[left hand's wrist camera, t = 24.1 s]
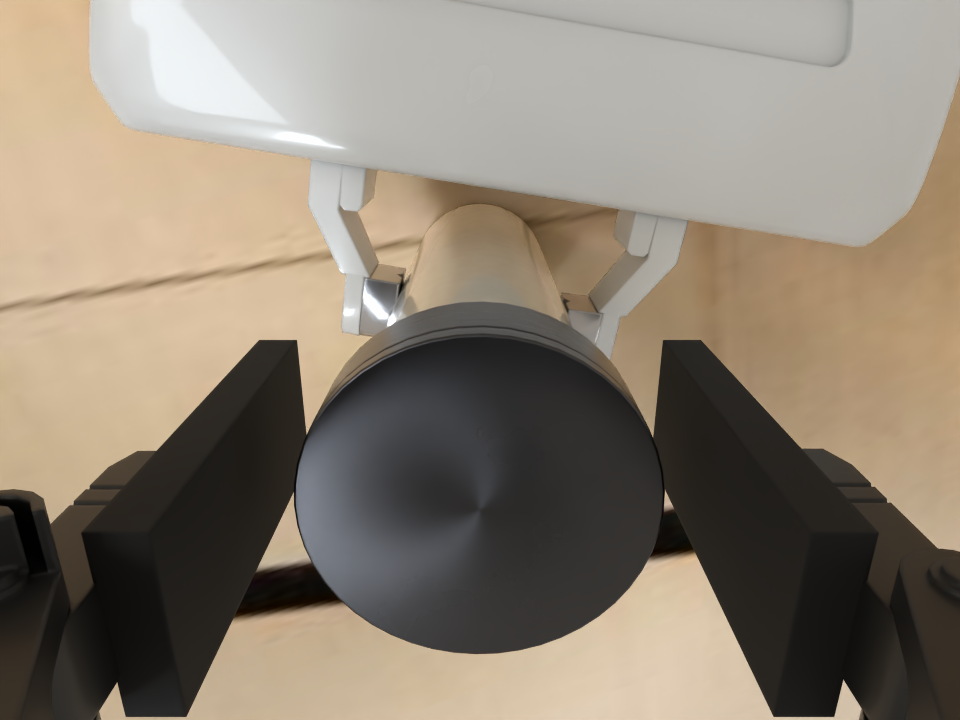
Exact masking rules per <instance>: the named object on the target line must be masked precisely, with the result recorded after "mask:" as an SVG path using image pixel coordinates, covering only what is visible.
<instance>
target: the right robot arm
mask: <svg viewBox="0 0 960 720" xmlns="http://www.w3.org/2000/svg"><path fill="white" fill-rule="evenodd" d="M89 67H90V73H91V78H92V81H93V83H94V85H95V87H96V88H97V90H98V91H99V93H100V94H101V96H102V97H103V99H104V100H105V102H106V103H107V104H108V106H109V107H110V109H111V110H112V112H113V113H114V115H115V116H116V117H117V118H118V120H119V121H120V122H121V124H122V125H124V126H125V127H126V128H128V129H130V130H134V131H139V132H144V133H150V134H157V135H163V136H169V137H175V138H181V139H187V140H194V141H200V142H206V143H212V144H218V145H225V146H231V147H237V148H243V149H249V150H256V151H262V152H268V153H274V154H280V155H287V156H293V157H299V158H305V159H311V168H310V182H309V197H308V206H309V208H310V210H311V212H312V214H313V216H314V218H315V220H316V223H317V225H318V227H319V229H320V231H321V233H322V235H323V237H324V239H325V241H326V243H327V245H328V247H329V249H330V251H331V253H332V256H333V258H334V260H335V262H336V264H337V266H338V268H339V270H340V272H341V273H342V274H346V278H345V289H344V301H343V312H342V323H341V327H342V333H347V334H352V335H358V336H359V335H363V336H370V337H374V336H375V335H376V334H377V333H379V332H380V331H382V330H384V329H385V328H386V326H387V323H388V321H389V319H390V316H391V314H392V311H393V309H394V307H395V304H396V302H397V299H398V297H399V295H400V292H401V290H402V287H403V285H404V282H405V273H406V269H405V268H400V267H394V266H388V265H383V264H378V263H379V261H378V259H377V257H376V254H375V252H374V250H373V247H372V245H371V242H370V240H369V238H368V235H367V233H366V230H365V228H364V226H363V223H362V221H361V218H360V216H359V214H358V211H359V210H360V209H361V208H363V207H364V206H365V205H366V204H367V203H368V202H370V201H371V200H372V199H373V198H374V191H375V182H376V173H377V170H379V171H386V172H392V173H398V174H404V175H410V176H416V177H423V178H429V179H435V180H441V181H447V182H454V183H460V184H466V185H472V186H478V187H485V188H491V189H497V190H503V191H509V192H515V193H522V194H528V195H534V196H540V197H546V198H553V199H559V200H565V201H571V202H577V203H584V204H590V205H596V206H602V207H608V208H614V209H619V210H618V214H617V219H616V224H615V229H614V233H613V237H614V238H615V240H616V241H617V242H618V243H619V244H620V245H621V246H622V247H623V248H624V249H625V250H626V251H625V252H624V253H623V255H622V256H621V257H620V258H619V259H618V260H617V262H616V263H615V264H614V265H613V266H612V267H611V269H610V270H609V271H608V272H607V273H606V274H605V276H604V277H603V278H602V279H601V280H600V281H599V283H598V284H597V285H596V286H595V287H594V289H593V290H592V291H591V292H590V293H589V296H584V295H576V294H569V293H561V299H562V301H563V304H564V306H565V309H566V311H567V313H568V316H569V318H570V321H571V323H572V325H573V328H574V329H575V330H576V331H578V332H579V333H581V334H582V335H584V336H585V337H587V338H588V339H589V340H590V341H591V342H592V343H593V344H594V345H596V346H597V347H598V348H599V349H600V350H601V351H602V352H603V353H604V354H605V355H606V357H607V358H608V359H609V360H610V359H611V355H612V351H613V347H614V343H615V338H616V334H617V330H618V326H619V322H620V318H621V316H622V317H626V316H627V315H628V314H629V313H630V312H631V311H632V309H633V308H634V307H635V306H636V305H637V304H638V303H639V302H640V301H641V300H642V299H643V298H644V297H645V296H646V295H647V294H648V293H649V292H650V291H651V290H652V289H653V288H654V287H655V286H656V285H657V284H658V283H659V282H660V281H661V280H662V278H663V277H664V276H665V275H666V274H667V273H668V272H669V271H670V270H671V269H672V268H673V267H674V266H675V265H676V264H677V261H678V257H679V254H680V250H681V246H682V242H683V239H684V235H685V231H686V228H687V224H688V220H689V221H695V222H701V223H707V224H713V225H720V226H726V227H732V228H738V229H744V230H751V231H757V232H763V233H769V234H775V235H782V236H788V237H794V238H800V239H806V240H812V241H819V242H825V243H831V244H838V245H844V246H850V247H864V246H866V245H868V244H870V243H871V242H873V241H874V240H875V239H877V238H878V237H880V236H881V235H882V234H883V233H885V232H886V231H887V230H889V229H890V228H891V227H892V226H893V225H895V224H896V223H897V222H898V221H899V220H901V219H902V218H903V217H904V216H905V215H906V214H907V213H908V212H909V211H910V209H911V208H912V206H913V204H914V202H915V201H916V199H917V197H918V195H919V193H920V190H921V188H922V185H923V183H924V181H925V178H926V176H927V174H928V171H929V168H930V165H931V163H932V160H933V157H934V154H935V151H936V149H937V146H938V143H939V140H940V137H941V134H942V131H943V128H944V125H945V122H946V119H947V116H948V113H949V110H950V107H951V104H952V100H953V97H954V94H955V91H956V87H957V84H958V81H959V77H960V0H90V11H89Z"/></svg>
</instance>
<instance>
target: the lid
mask: <svg viewBox="0 0 960 720" xmlns="http://www.w3.org/2000/svg"><path fill="white" fill-rule="evenodd" d="M664 496H665V488H664V477H663V469H662V465H661V461H660V457H659V453H658V449H657V446H656V444H655V442H654V439H653V437H652V435H651V432H650V430H649V428H648V426H647V424H646V422H645V420H644V418H643V416H642V414H641V412H640V410H639V408H638V406H637V404H636V402H635V401H634V399H633V397H632V395H631V393H630V391H629V389H628V387H627V385H626V383H625V382H624V380H623V379H622V377H621V375H620V374H619V372H618V370H617V369H616V367H615V366H614V365H613V364H612V363H611V361H610V360H609V359H608V358H607V357H606V355H605V354H604V353H603V352H602V351H601V350H600V349H599V348H598V347H597V346H596V345H594V344H593V343H592V342H591V341H590V340H589V339H588V338H587V337H585V336H584V335H582V334H581V333H579V332H578V331H576V330H575V329H574V328H572V327H571V326H569V325H567V324H565V323H563V322H561V321H559V320H557V319H555V318H553V317H551V316H549V315H546V314H544V313H541V312H538V311H535V310H532V309H529V308H525V307H521V306H516V305H511V304H507V303H496V302H484V301H481V302H459V303H453V304H448V305H442V306H437V307H433V308H430V309H427V310H424V311H420V312H417V313H414V314H412V315H410V316H408V317H406V318H403V319H401V320H399V321H397V322H395V323H393V324H392V325H390V326H388V327H387V328H385V329H384V330H382V331H380V332H379V333H377V334H376V335H375V336H374V337H372V338H371V339H370V340H369V341H368V342H366V343H365V344H364V345H363V346H362V347H360V348H359V350H358V351H357V352H356V353H355V354H354V355H353V356H352V357H351V358H350V359H349V361H348V362H347V363H346V364H345V366H344V367H343V369H342V370H341V372H340V373H339V375H338V376H337V378H336V379H335V381H334V383H333V385H332V386H331V388H330V390H329V392H328V394H327V396H326V398H325V400H324V402H323V404H322V406H321V408H320V409H319V411H318V413H317V415H316V417H315V419H314V421H313V423H312V425H311V427H310V429H309V431H308V433H307V435H306V438H305V440H304V442H303V445H302V448H301V451H300V455H299V458H298V461H297V466H296V473H295V480H294V507H295V513H296V519H297V526H298V529H299V532H300V535H301V538H302V541H303V544H304V547H305V549H306V551H307V553H308V555H309V558H310V560H311V562H312V564H313V566H314V567H315V569H316V570H317V572H318V573H319V575H320V576H321V578H322V579H323V581H324V582H325V583H326V584H327V586H328V587H329V588H330V589H331V590H332V591H333V592H334V594H335V595H336V596H337V597H338V598H339V599H340V600H341V601H342V602H343V603H344V604H346V605H347V606H348V607H349V608H350V609H351V610H352V611H353V612H355V613H356V614H358V615H359V616H360V617H362V618H363V619H365V620H366V621H368V622H369V623H370V624H372V625H374V626H376V627H377V628H379V629H381V630H383V631H385V632H387V633H389V634H390V635H393V636H395V637H398V638H400V639H403V640H405V641H408V642H410V643H413V644H417V645H420V646H424V647H427V648H431V649H436V650H442V651H448V652H453V653H468V654H492V653H503V652H511V651H518V650H523V649H527V648H531V647H535V646H539V645H542V644H545V643H548V642H550V641H553V640H556V639H559V638H561V637H563V636H566V635H568V634H570V633H572V632H574V631H576V630H578V629H580V628H582V627H583V626H585V625H586V624H588V623H589V622H591V621H592V620H594V619H596V618H597V617H599V616H600V615H601V614H602V613H604V612H605V611H606V610H607V609H608V608H610V607H611V606H612V605H613V604H614V603H616V601H617V600H618V599H619V598H620V597H621V596H622V595H623V594H624V593H625V592H626V591H627V590H628V589H629V588H630V586H631V585H632V584H633V582H634V581H635V580H636V578H637V577H638V575H639V574H640V573H641V571H642V570H643V568H644V566H645V564H646V562H647V560H648V559H649V557H650V555H651V553H652V551H653V548H654V545H655V542H656V540H657V537H658V534H659V531H660V526H661V522H662V517H663V512H664Z"/></svg>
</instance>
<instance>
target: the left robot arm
mask: <svg viewBox="0 0 960 720" xmlns="http://www.w3.org/2000/svg"><path fill="white" fill-rule="evenodd" d="M305 438H306V426H305V416H304V406H303V396H302V386H301V376H300V366H299V356H298V346H297V340H259V341H258V342H257V343H256V344H255V345H254V346H253V347H252V349H251V350H250V351H249V352H248V353H247V354H246V355H245V356H244V357H243V358H242V359H241V360H240V361H239V363H238V364H237V365H236V366H235V367H234V368H233V369H232V370H231V371H230V372H229V373H228V374H227V376H226V377H225V378H224V379H223V380H222V381H221V382H220V383H219V384H218V385H217V386H216V387H215V388H214V390H213V391H212V392H211V393H210V394H209V395H208V396H207V397H206V398H205V399H204V400H203V401H202V402H201V404H200V405H199V406H198V407H197V408H196V409H195V410H194V411H193V412H192V413H191V414H190V415H189V417H188V418H187V419H186V420H185V421H184V422H183V423H182V424H181V425H180V426H179V427H178V428H177V429H176V431H175V432H174V433H173V434H172V435H171V436H170V437H169V438H168V439H167V440H166V441H165V442H164V444H163V445H162V446H161V447H160V448H159V449H158V450H157V451H137V452H135V453H133V454H132V455H130V456H128V457H126V458H124V459H122V460H121V461H119V462H117V463H115V464H113V465H112V466H110V467H108V468H107V469H106V470H105V471H104V472H103V473H102V474H101V475H100V476H99V477H98V478H97V479H96V480H95V481H94V482H93V483H92V484H91V485H90V489H86V490H85V491H84V492H83V493H82V494H81V495H80V496H79V497H78V498H77V499H76V500H75V501H74V505H70V506H69V507H68V508H67V509H66V510H65V511H64V512H63V513H61V514H60V515H59V516H58V517H57V518H56V519H55V520H54V521H53V522H52V523H51V524H50V522H49V518H48V514H47V510H46V507H45V503H44V499H43V498H42V497H40V496H38V495H37V494H35V493H34V492H31V491H23V490H15V489H12V490H0V720H101V717H100V713H99V710H100V709H101V707H102V705H103V704H104V702H105V701H106V699H107V697H108V696H109V694H110V693H111V691H112V689H113V688H114V686H115V685H116V683H118V687H119V691H120V695H121V699H122V703H123V707H124V711H125V715H126V717H186V716H187V714H188V712H189V710H190V708H191V706H192V704H193V702H194V700H195V698H196V695H197V693H198V691H199V689H200V687H201V685H202V683H203V681H204V679H205V677H206V674H207V672H208V670H209V668H210V666H211V664H212V662H213V660H214V658H215V656H216V654H217V651H218V649H219V647H220V645H221V643H222V641H223V639H224V637H225V635H226V633H227V630H228V628H229V626H230V624H231V622H232V620H233V618H234V616H235V614H236V612H237V610H238V607H239V605H240V603H241V601H242V599H243V597H244V595H245V593H246V591H247V589H248V587H249V584H250V582H251V580H252V578H253V576H254V574H255V572H256V570H257V568H258V566H259V563H260V561H261V559H262V557H263V555H264V553H265V551H266V549H267V547H268V545H269V543H270V540H271V538H272V536H273V534H274V532H275V530H276V528H277V526H278V524H279V522H280V520H281V517H282V515H283V513H284V511H285V509H286V507H287V505H288V503H289V501H290V499H291V496H292V494H293V492H294V480H295V473H296V466H297V461H298V458H299V455H300V451H301V448H302V445H303V442H304V440H305ZM653 439H654V442H655V444H656V446H657V449H658V453H659V457H660V461H661V465H662V469H663V477H664V488H665V490H666V492H667V494H668V496H669V499H670V501H671V503H672V505H673V507H674V509H675V511H676V513H677V515H678V517H679V519H680V522H681V524H682V526H683V528H684V530H685V532H686V534H687V536H688V538H689V540H690V543H691V545H692V547H693V549H694V551H695V553H696V555H697V557H698V559H699V561H700V563H701V566H702V568H703V570H704V572H705V574H706V576H707V578H708V580H709V582H710V584H711V586H712V589H713V591H714V593H715V595H716V597H717V599H718V601H719V603H720V605H721V607H722V610H723V612H724V614H725V616H726V618H727V620H728V622H729V624H730V626H731V628H732V630H733V633H734V635H735V637H736V639H737V641H738V643H739V645H740V647H741V649H742V651H743V654H744V656H745V658H746V660H747V662H748V664H749V666H750V668H751V670H752V672H753V674H754V677H755V679H756V681H757V683H758V685H759V687H760V689H761V691H762V693H763V695H764V697H765V700H766V702H767V704H768V706H769V708H770V710H771V712H772V714H773V716H774V717H834V716H835V711H836V707H837V703H838V699H839V695H840V691H841V687H842V683H843V679H844V681H845V683H846V684H847V686H848V687H849V689H850V691H851V692H852V694H853V695H854V697H855V699H856V700H857V702H858V703H859V705H860V706H861V708H862V710H861V713H860V717H859V720H960V552H958V551H954V550H947V549H938V548H937V547H936V546H935V545H934V544H933V543H932V542H931V541H929V540H928V539H927V538H926V537H925V536H924V535H923V534H922V533H921V532H920V531H919V530H918V529H917V528H916V527H915V526H914V525H913V524H912V523H911V522H910V521H909V520H908V519H907V518H906V517H905V516H904V515H903V514H902V513H901V512H900V511H899V510H898V509H897V508H896V507H895V506H894V505H893V504H892V503H887V499H886V498H885V497H884V496H883V495H882V494H881V493H880V492H879V491H878V490H877V489H876V488H875V487H871V483H870V482H869V481H868V480H867V479H866V478H865V477H864V476H863V475H862V474H861V473H860V472H859V471H858V470H857V469H856V468H855V467H854V466H853V465H851V464H850V463H848V462H846V461H844V460H842V459H840V458H839V457H837V456H835V455H833V454H831V453H830V452H828V451H826V450H824V449H801V448H800V447H799V446H798V445H797V444H796V442H795V441H794V440H793V439H792V438H791V437H790V436H789V435H788V434H787V433H786V432H785V431H784V429H783V428H782V427H781V426H780V425H779V424H778V423H777V422H776V421H775V420H774V419H773V418H772V417H771V415H770V414H769V413H768V412H767V411H766V410H765V409H764V408H763V407H762V406H761V405H760V404H759V402H758V401H757V400H756V399H755V398H754V397H753V396H752V395H751V394H750V393H749V392H748V391H747V390H746V388H745V387H744V386H743V385H742V384H741V383H740V382H739V381H738V380H737V379H736V378H735V377H734V375H733V374H732V373H731V372H730V371H729V370H728V369H727V368H726V367H725V366H724V365H723V364H722V363H721V361H720V360H719V359H718V358H717V357H716V356H715V355H714V354H713V353H712V352H711V351H710V350H709V348H708V347H707V346H706V345H705V344H704V343H703V342H702V341H701V340H663V346H662V356H661V366H660V376H659V386H658V396H657V406H656V416H655V426H654V436H653Z"/></svg>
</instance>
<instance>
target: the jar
mask: <svg viewBox="0 0 960 720" xmlns="http://www.w3.org/2000/svg"><path fill="white" fill-rule="evenodd" d="M481 301H484V302H496V303H507V304H511V305H516V306H521V307H525V308H529V309H532V310H535V311H538V312H541V313H544V314H546V315H549V316H551V317H553V318H555V319H557V320H559V321H561V322H563V323H565V324H567V325H569V326H571V327H572V328H573V325H572V323H571V321H570V318H569V316H568V313H567V311H566V309H565V306H564V304H563V301H562V299H561V296H560V294H559V292H558V289H557V287H556V284H555V282H554V280H553V277H552V275H551V272H550V270H549V267H548V265H547V263H546V260H545V258H544V255H543V253H542V250H541V248H540V246H539V243H538V241H537V239H536V237H535V235H534V233H533V232H532V231H531V229H530V228H529V227H528V226H527V224H526V223H525V222H524V221H523V220H521V219H520V218H519V217H518V216H516V215H515V214H513V213H512V212H510V211H508V210H506V209H503V208H501V207H498V206H494V205H488V204H471V205H466V206H462V207H458V208H456V209H453V210H451V211H449V212H448V213H446V214H444V215H443V216H442V217H440V218H439V219H438V220H437V221H436V222H435V223H434V224H433V225H432V226H431V227H430V228H429V230H428V231H427V232H426V234H425V236H424V238H423V239H422V242H421V244H420V247H419V249H418V251H417V254H416V256H415V259H414V261H413V263H412V266H411V268H410V271H409V273H408V275H407V278H406V280H405V283H404V285H403V287H402V290H401V292H400V295H399V297H398V299H397V302H396V304H395V307H394V309H393V311H392V314H391V316H390V319H389V321H388V323H387V326H386V328H387V327H388V326H390V325H392V324H393V323H395V322H397V321H399V320H401V319H403V318H406V317H408V316H410V315H412V314H414V313H417V312H420V311H424V310H427V309H430V308H433V307H437V306H442V305H448V304H453V303H459V302H481Z"/></svg>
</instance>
